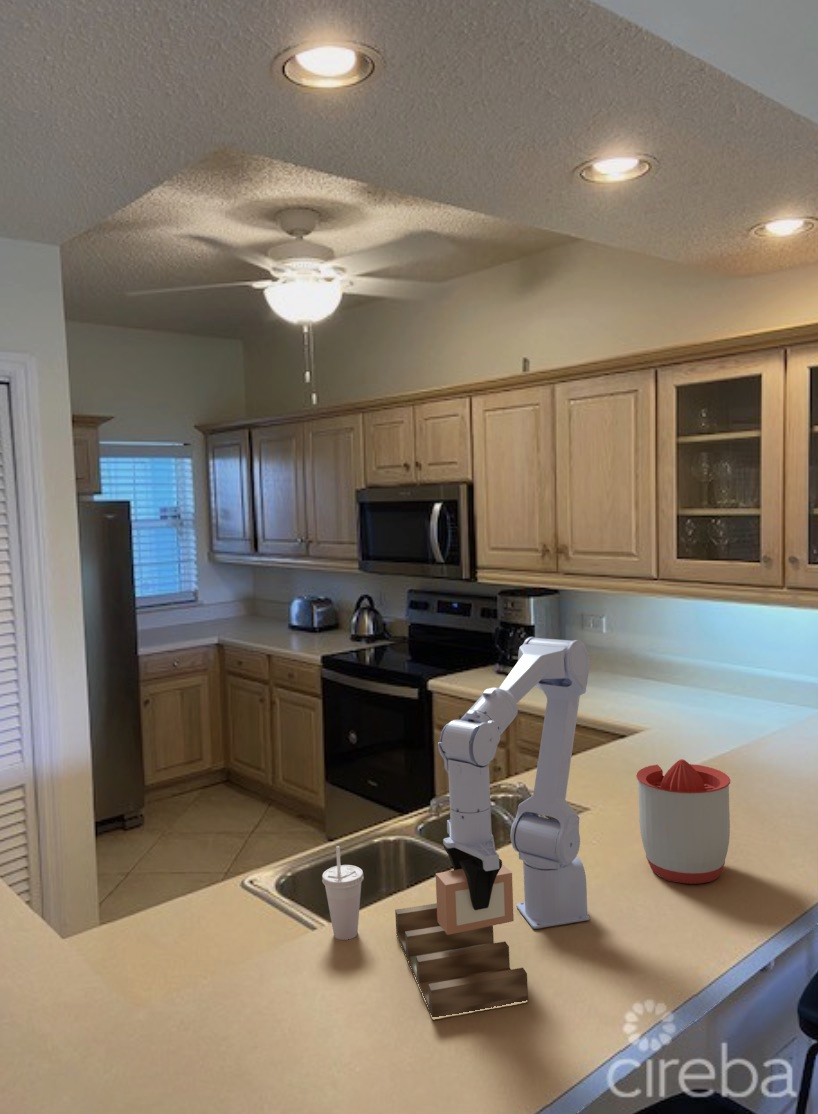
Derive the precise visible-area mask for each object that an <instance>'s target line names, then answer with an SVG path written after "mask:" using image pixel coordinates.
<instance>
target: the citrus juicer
mask: <svg viewBox="0 0 818 1114" xmlns="http://www.w3.org/2000/svg"><path fill="white" fill-rule="evenodd" d="M635 777H636V779H637V787H638V788H637V789H638V817H639V819H638V820H639V831H640V837H641V841H642V846H643V850H644V853H645V858H646V860H647V862H648V864H649V866H650V869H651V871H652V872H653V873H654V874H655V875H657V876H659V877H660V878H662V879H664V880H666V881H668V882H675V883H681V884H691V885H692V884H693V885H694V884H696V885H697V884H704V883H709V882H714V880H717V879H718V878H719V877H720V875H721V873H722V871H723V869H724V866H725V864H726V858H727V855H728V851H729V845H730V833H731V832H730V831H731V824H730V823H731V820H730V784H731V779H730V776H728V775H727V774H726V773H725V772H723V771H721V770H720V769H719V770H718V769H716V768H713V767H709V766H705V765H700V764H692V763H689V762H688V761H686V759H682V758H681V759H679V760H678V761H677V760H676V762H675V763H674V764H673V765H672V766H671V767H670V768H669V769H668V770H667V771H666V773H665V774H664V772H663V768H661V766H660V765H658V764H654V765H648V766H645V767H642V768H640V769H639V770H638V771H637V773H636V776H635Z"/></svg>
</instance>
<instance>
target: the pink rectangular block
mask: <svg viewBox="0 0 818 1114" xmlns="http://www.w3.org/2000/svg"><path fill="white" fill-rule="evenodd" d="M513 889H514V888H513V872H512V871H511V870H509V868H508V867H506V865H505V864H504V863H502V867H501V869H500V870H499V872H498V874H497V876H496V878H495V881H494V884H493V888H492V893H491V898H490V902H489V906H488V908H485V909H480V910H474V909H473V906H472V903H471V898H470V892H469V886H468V882H467V878H466V875H465V873H464V871H463V869H458V870H454V869H453V870H447V871H443V872H442V871H441V872H437V873H435V891H436V894H435V895H436V903H437V922H438V923H439V924H440V926H441V927H442V928H443V930H444V931H445V932H446V934H447V935H450V934H454V933H459V932H464V931H469V930H474V929H479V928H484V927H488V926H493V927H494V926H497V925H501V924H506V923H511V922H514V920H515V919H514V918H515V917H514V894H513V893H514V892H513V891H514V890H513Z"/></svg>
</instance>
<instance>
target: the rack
mask: <svg viewBox="0 0 818 1114" xmlns="http://www.w3.org/2000/svg"><path fill="white" fill-rule="evenodd" d="M394 911H395V913H394V914H395V930H396V934H397V935H396V937H397V936H398V937H397V940H398V939H399V940H398V942H399V941H400V942H399V944H400V943H401V945H400V946H402V947H401V949H402V948H403V949H402V951H403V950H404V952H405V954H406V956H405V958H406V957H407V959H408V961H409V964H410V966H411V968H412V970H413V973H414V975H415V977H416V980H417V982H418V984H419V987H420V989H421V991H422V993H423V996H424V998H425V1000H426V1003H427V1005H428V1008H429V1011H430V1013H431V1015H432V1017H439V1016H446V1015H452V1014H459V1013H463V1012H469V1011H475V1010H480V1009H485V1008H491V1007H492V1008H493V1007H494V1006H496V1007H497V1006H502V1005H506V1004H511V1003H514V1002H522V1001H526V1000H528V1001H529V991H528V990H529V989H528V973H527V971H526V970H525V969H524V967H518V968H512V969H511V965H510V946H509V945H508V943H507V942H506V941H500V942H495V941H494V925H493V926H488V927H484V928H479V929H474V930H469V931H464V932H459V933H454V934H450V935H447V934H446V932H445V931H444V930H443V928H442V927H441V926H440V924H439V923H438V922H437V902H435V903H429V904H424V905H418V906H411V907H404V908H397V909H395V910H394ZM404 952H403V953H404ZM405 954H404V955H405ZM407 959H406V960H407ZM408 961H407V962H408ZM409 964H408V965H409ZM410 966H409V967H410ZM411 968H410V969H411ZM413 973H412V974H413ZM414 975H413V976H414ZM416 980H415V981H416ZM419 987H418V988H419ZM429 1011H428V1012H429ZM430 1013H429V1014H430Z"/></svg>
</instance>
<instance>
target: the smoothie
mask: <svg viewBox="0 0 818 1114" xmlns="http://www.w3.org/2000/svg"><path fill="white" fill-rule="evenodd" d="M340 848H341V847H340V845H336V846H335V851H336V853H335V854H336V865H335V866H331V867H330V868H328V869H326V870H325V871H323V873H322V880H321V882H322V884H323V885H324V886H325V892H326V893H325V894H326V899H327V903H328V904H327V905H328V910H329V915H330V916H329V917H330V921H331V925H332V926H331V927H332V931H333V932H332V933H333V937H334V938H335V939H336V940H341V941H347V940H348V939H349V940H351V939H354V938H356V936H357V935H358V931H359V918H360V903H361V892H362V891H361V889H362V882H363V881H364V872H363V869H362V868H360V867H359V866H356V865H352V864H342V865H341V849H340Z"/></svg>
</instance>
